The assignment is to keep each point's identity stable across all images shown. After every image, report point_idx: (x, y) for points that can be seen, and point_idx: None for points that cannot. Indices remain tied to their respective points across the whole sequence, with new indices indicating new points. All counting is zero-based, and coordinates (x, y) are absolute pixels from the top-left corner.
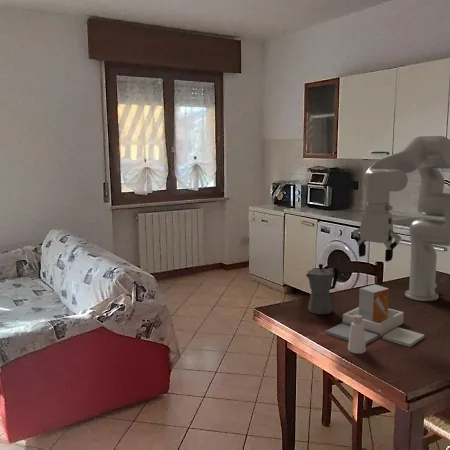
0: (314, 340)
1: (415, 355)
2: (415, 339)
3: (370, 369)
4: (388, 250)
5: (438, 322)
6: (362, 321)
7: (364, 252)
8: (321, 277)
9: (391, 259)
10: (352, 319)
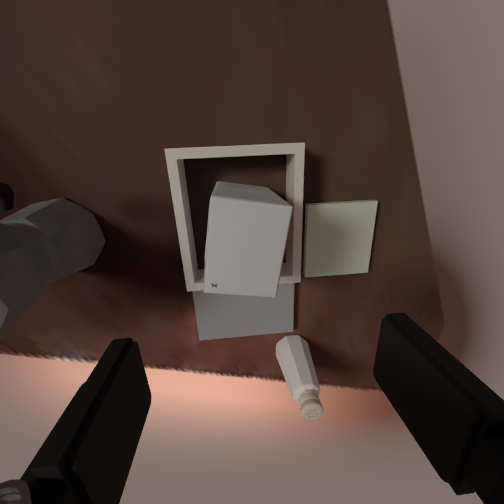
0: (208, 370)
1: (384, 292)
2: (369, 243)
3: (342, 379)
4: (469, 460)
5: (374, 48)
6: None
7: (129, 380)
8: (4, 331)
9: (402, 315)
10: None
